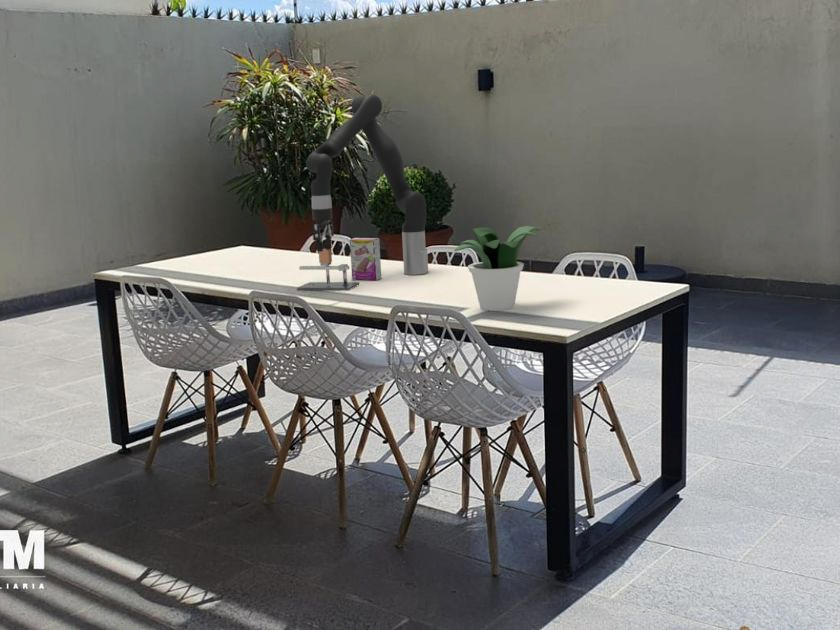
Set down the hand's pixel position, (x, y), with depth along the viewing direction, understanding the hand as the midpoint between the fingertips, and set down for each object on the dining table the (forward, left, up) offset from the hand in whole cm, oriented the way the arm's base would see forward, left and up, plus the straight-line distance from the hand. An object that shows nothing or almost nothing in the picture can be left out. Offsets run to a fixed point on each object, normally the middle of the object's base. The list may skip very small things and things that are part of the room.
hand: (324, 249), depth 373 cm
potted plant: (-75, +30, -15) cm, 83 cm away
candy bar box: (-9, -19, -15) cm, 26 cm away
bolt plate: (0, -1, -15) cm, 15 cm away
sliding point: (0, 0, -13) cm, 13 cm away
